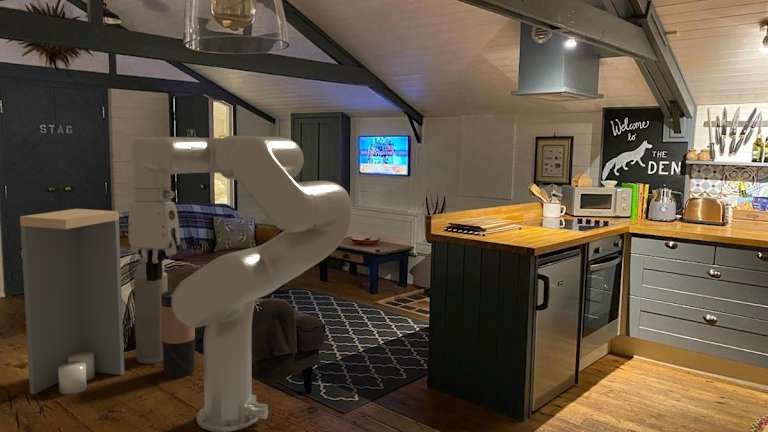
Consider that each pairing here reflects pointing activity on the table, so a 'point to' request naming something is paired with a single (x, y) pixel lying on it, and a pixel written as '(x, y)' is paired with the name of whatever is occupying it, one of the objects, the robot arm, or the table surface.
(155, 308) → the thermos bottle
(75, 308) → the counter
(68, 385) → the cream smooth rounded cylinder
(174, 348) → the travel mug
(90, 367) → the cream rounded knob
